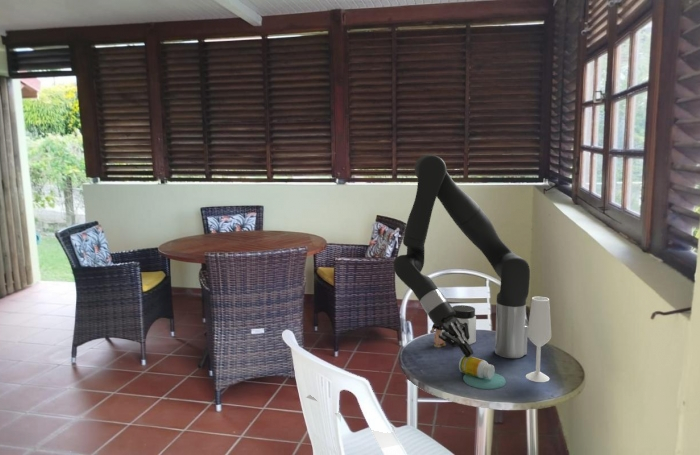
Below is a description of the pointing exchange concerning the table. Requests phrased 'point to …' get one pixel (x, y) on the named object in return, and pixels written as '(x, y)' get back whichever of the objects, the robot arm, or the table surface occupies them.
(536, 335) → the champagne flute
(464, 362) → the supplement bottle
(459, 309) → the jar
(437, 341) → the grandmother figurine
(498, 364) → the table surface
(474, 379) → the mat
